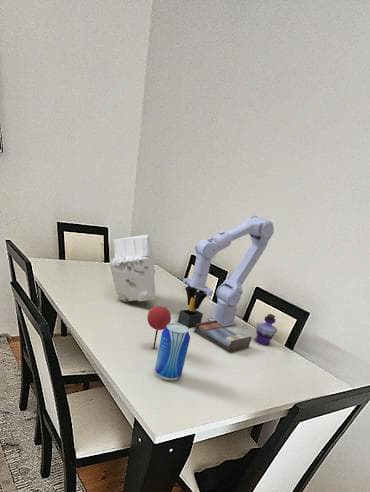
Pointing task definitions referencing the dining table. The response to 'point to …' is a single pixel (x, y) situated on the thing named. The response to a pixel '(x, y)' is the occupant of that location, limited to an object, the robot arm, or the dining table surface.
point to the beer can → (172, 351)
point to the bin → (190, 318)
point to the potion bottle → (266, 330)
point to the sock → (192, 304)
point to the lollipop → (158, 319)
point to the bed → (222, 336)
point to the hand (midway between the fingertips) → (192, 306)
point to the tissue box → (133, 268)
